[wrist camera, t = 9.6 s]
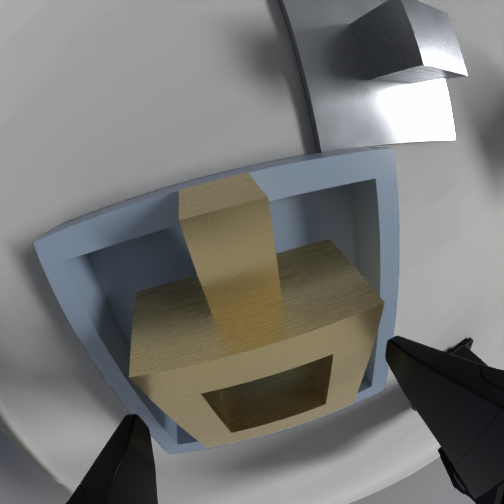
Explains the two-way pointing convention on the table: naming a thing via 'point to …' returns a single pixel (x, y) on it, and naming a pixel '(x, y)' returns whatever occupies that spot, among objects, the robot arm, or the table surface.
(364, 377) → the tray
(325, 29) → the grey peg base
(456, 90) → the table surface
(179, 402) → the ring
